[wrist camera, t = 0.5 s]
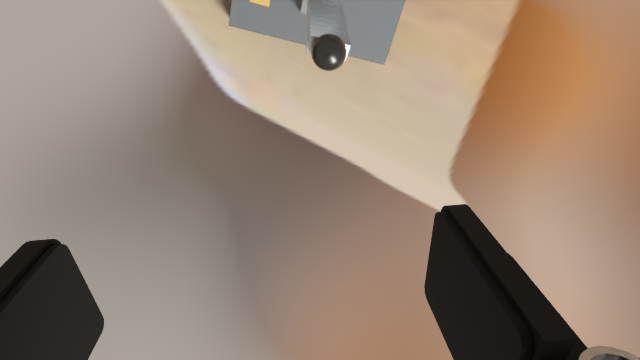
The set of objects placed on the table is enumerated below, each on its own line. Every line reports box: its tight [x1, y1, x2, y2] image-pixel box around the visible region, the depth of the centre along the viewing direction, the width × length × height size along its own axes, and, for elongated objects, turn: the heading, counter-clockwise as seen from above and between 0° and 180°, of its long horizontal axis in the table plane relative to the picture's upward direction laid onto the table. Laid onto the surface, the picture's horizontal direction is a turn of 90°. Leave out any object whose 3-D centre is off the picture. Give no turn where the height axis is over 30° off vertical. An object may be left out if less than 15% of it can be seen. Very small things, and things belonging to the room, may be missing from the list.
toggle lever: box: [306, 0, 351, 71], centre depth 23 cm, size 2×2×10 cm
